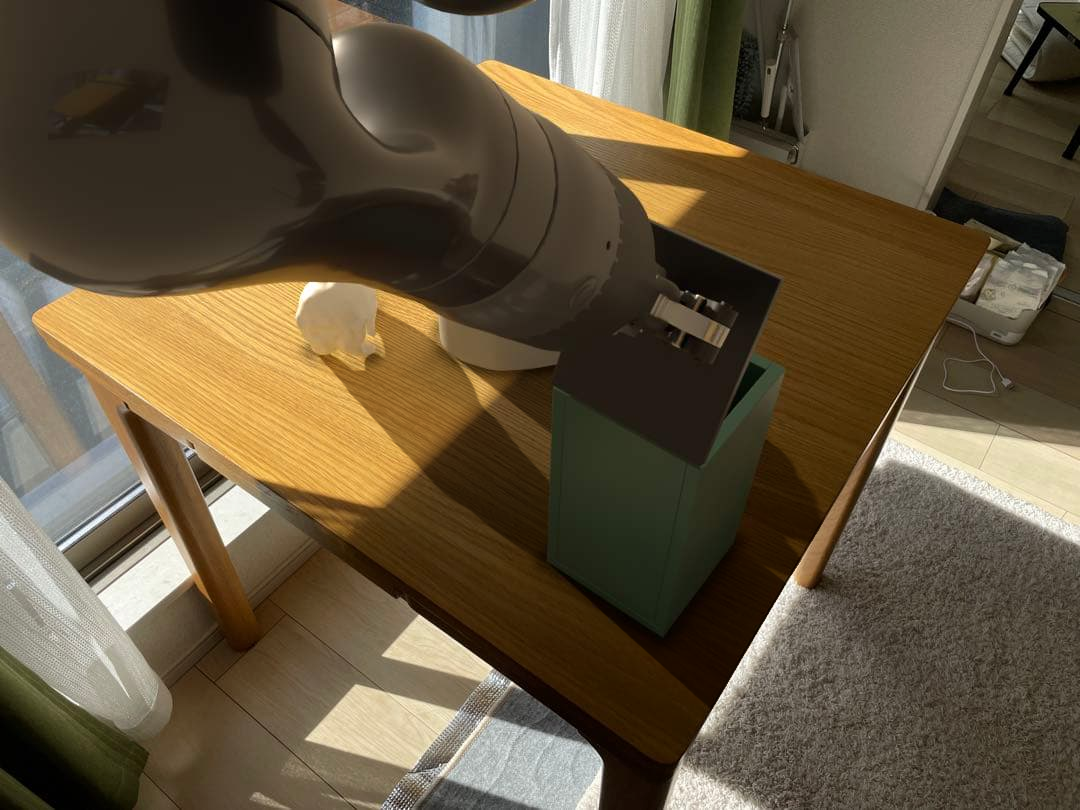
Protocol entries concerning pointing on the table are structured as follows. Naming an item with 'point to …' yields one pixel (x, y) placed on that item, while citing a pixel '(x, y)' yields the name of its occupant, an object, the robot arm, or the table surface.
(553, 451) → the green box
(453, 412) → the table surface
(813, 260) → the table surface
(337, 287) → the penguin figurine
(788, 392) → the table surface
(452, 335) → the lumpy-topped squat cylinder
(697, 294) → the robot arm
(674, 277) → the box lid
